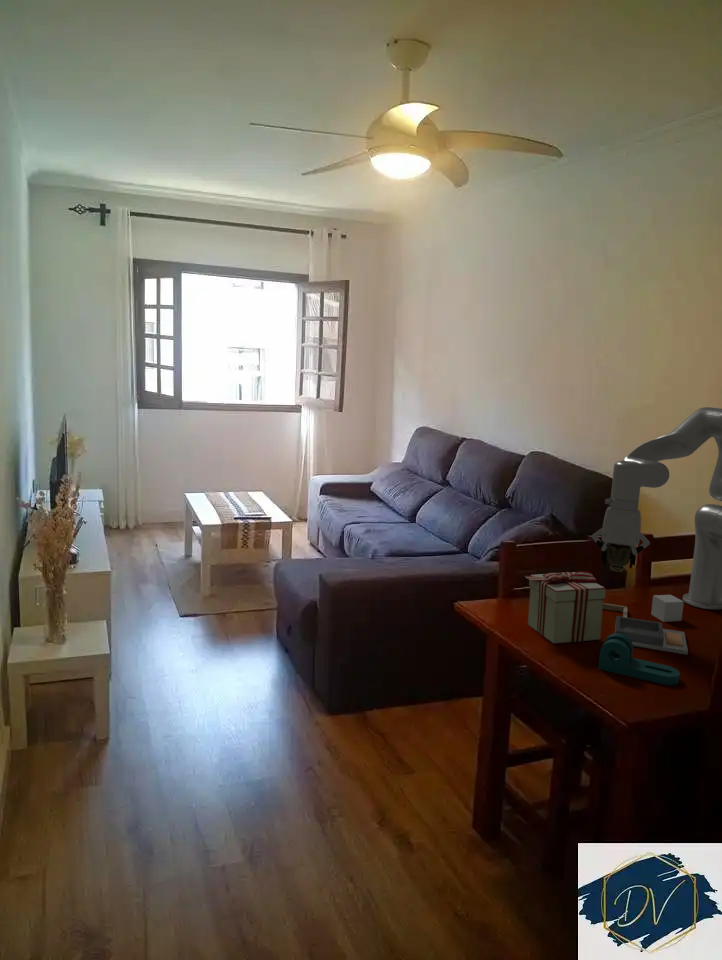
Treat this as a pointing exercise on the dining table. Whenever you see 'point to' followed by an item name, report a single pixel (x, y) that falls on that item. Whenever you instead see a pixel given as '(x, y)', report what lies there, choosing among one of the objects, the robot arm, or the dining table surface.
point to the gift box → (566, 606)
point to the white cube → (667, 608)
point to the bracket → (633, 662)
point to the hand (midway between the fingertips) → (617, 564)
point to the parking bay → (616, 608)
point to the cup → (618, 556)
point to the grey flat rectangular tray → (651, 635)
